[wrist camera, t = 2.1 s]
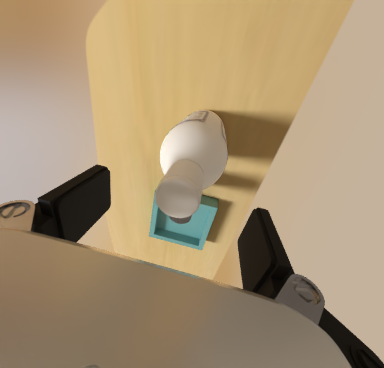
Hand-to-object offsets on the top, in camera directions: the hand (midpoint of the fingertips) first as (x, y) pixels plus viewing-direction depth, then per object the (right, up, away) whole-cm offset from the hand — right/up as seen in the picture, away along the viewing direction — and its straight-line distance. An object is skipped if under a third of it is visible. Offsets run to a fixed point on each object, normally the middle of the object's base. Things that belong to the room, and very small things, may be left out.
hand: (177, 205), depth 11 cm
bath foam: (+3, +10, +17) cm, 20 cm away
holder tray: (-1, -5, +26) cm, 26 cm away
